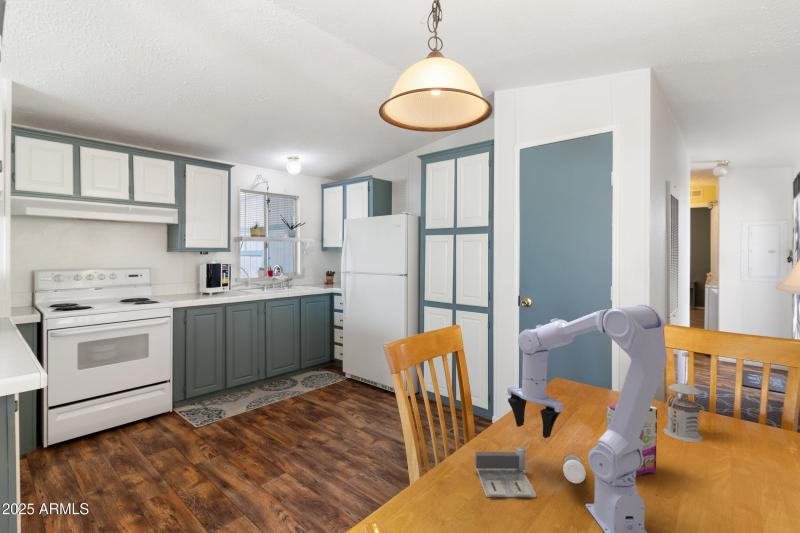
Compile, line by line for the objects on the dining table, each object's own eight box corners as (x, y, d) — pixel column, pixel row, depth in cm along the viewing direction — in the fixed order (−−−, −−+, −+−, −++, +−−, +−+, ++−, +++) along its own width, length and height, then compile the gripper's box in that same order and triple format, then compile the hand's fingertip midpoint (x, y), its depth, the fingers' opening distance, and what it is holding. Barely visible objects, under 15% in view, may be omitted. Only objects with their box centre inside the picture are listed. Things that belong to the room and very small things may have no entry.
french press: (710, 438, 119) (714, 354, 117) (684, 445, 114) (688, 358, 113) (677, 425, 128) (680, 347, 127) (651, 430, 123) (654, 350, 122)
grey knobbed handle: (526, 470, 98) (526, 451, 97) (476, 470, 98) (476, 450, 97) (523, 465, 100) (523, 446, 100) (474, 465, 100) (475, 446, 100)
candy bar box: (639, 462, 105) (642, 400, 104) (656, 473, 100) (659, 408, 99) (603, 468, 102) (606, 404, 101) (619, 479, 97) (622, 412, 96)
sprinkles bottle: (562, 470, 100) (562, 480, 88) (563, 450, 101) (564, 458, 89) (582, 475, 99) (585, 486, 87) (583, 455, 100) (586, 463, 88)
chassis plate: (536, 498, 89) (536, 493, 89) (486, 498, 89) (486, 492, 89) (519, 468, 101) (519, 463, 101) (475, 467, 101) (475, 462, 101)
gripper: (570, 381, 97) (569, 437, 97) (519, 367, 108) (518, 417, 109) (554, 387, 92) (552, 445, 93) (502, 372, 104) (501, 423, 104)
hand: (533, 431), depth 101 cm, fingers open, 7 cm apart
